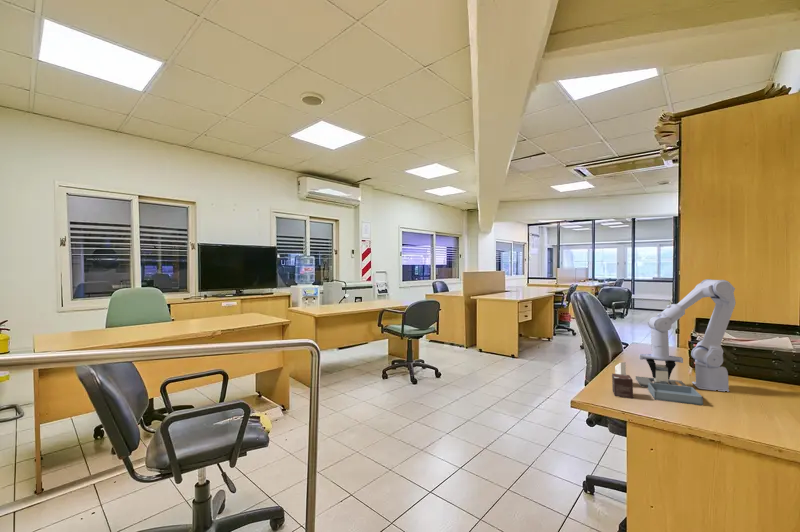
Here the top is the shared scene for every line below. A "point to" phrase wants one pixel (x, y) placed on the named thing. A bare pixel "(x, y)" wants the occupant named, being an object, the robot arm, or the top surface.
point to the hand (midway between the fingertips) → (660, 377)
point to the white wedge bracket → (620, 368)
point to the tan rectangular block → (661, 373)
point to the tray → (675, 393)
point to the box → (622, 385)
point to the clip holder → (644, 381)
